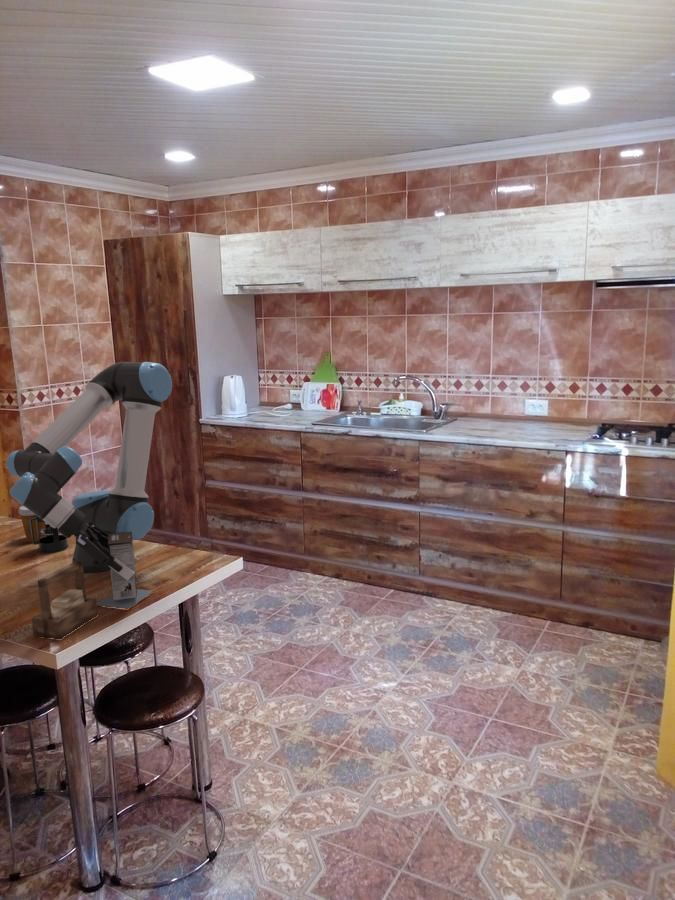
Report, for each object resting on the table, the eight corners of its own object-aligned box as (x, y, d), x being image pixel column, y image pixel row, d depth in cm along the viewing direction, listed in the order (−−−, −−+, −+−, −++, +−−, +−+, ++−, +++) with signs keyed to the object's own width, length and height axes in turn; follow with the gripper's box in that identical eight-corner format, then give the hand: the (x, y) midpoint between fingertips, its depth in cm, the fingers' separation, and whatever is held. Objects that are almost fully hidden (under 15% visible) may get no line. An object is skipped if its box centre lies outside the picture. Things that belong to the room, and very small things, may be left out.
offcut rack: (73, 612, 178) (67, 559, 175) (98, 616, 175) (92, 561, 172) (34, 636, 165) (26, 579, 162) (60, 641, 162) (53, 582, 159)
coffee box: (113, 588, 188) (107, 533, 185) (137, 585, 190) (132, 530, 187) (112, 601, 179) (107, 543, 176) (137, 597, 181) (132, 540, 178)
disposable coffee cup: (55, 538, 239) (52, 505, 237) (29, 545, 232) (25, 511, 230) (43, 532, 245) (40, 501, 243) (17, 539, 238) (13, 507, 236)
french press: (65, 541, 235) (58, 477, 231) (74, 548, 228) (67, 482, 223) (30, 549, 228) (22, 483, 224) (37, 556, 221) (29, 488, 216)
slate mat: (123, 589, 192) (123, 587, 192) (153, 593, 189) (153, 591, 189) (96, 606, 181) (96, 604, 181) (127, 610, 178) (127, 608, 178)
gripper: (64, 517, 188) (128, 565, 195) (47, 542, 167) (119, 595, 173) (82, 497, 188) (145, 546, 194) (67, 520, 167) (138, 574, 173)
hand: (133, 569), depth 184 cm, fingers closed on coffee box, 9 cm apart
